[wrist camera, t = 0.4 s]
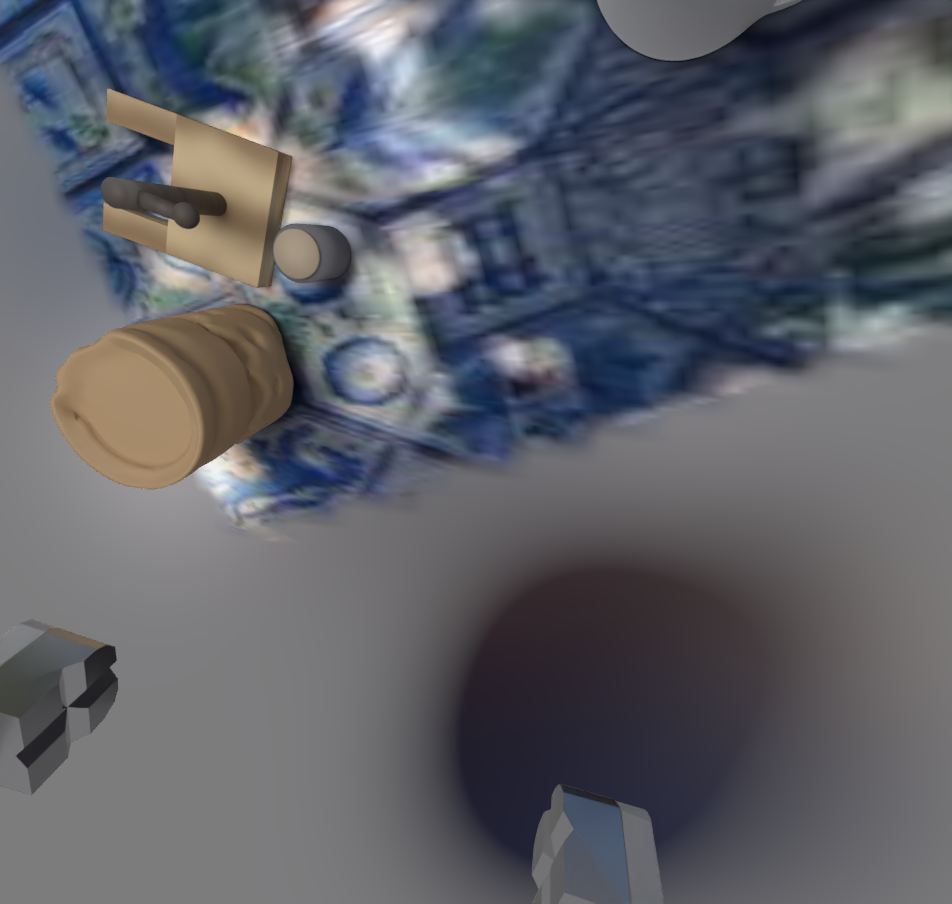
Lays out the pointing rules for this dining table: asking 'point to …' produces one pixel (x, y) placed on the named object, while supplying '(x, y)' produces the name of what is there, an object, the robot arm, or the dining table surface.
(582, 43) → the dining table surface
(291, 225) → the grey cylinder peg
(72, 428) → the container
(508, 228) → the dining table surface
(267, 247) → the wooden hook stand
